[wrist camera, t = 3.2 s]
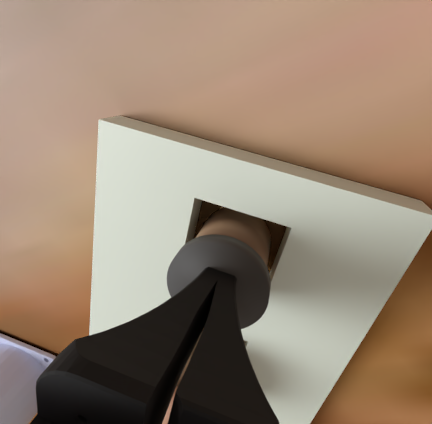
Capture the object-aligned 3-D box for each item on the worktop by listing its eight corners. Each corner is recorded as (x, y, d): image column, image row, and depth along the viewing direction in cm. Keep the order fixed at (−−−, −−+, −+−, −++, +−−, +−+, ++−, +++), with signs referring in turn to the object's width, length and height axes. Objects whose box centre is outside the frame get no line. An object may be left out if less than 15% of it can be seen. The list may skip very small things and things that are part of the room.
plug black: (191, 258, 19) (160, 310, 14) (206, 191, 17) (175, 228, 12) (263, 282, 18) (252, 344, 14) (287, 216, 16) (284, 264, 12)
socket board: (99, 399, 28) (85, 420, 26) (120, 115, 16) (98, 119, 15) (265, 469, 26) (263, 498, 24) (421, 200, 14) (439, 217, 13)
